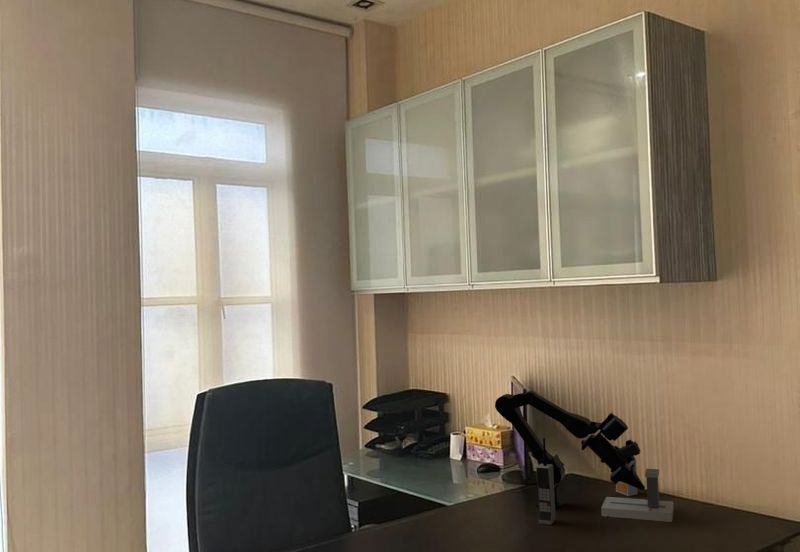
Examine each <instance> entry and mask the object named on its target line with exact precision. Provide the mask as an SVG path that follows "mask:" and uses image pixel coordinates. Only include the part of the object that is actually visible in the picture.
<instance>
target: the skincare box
mask: <svg viewBox="0 0 800 552" xmlns="http://www.w3.org/2000/svg"><path fill="white" fill-rule="evenodd" d="M634 463H635V472H636V474H637V458H635V459H634V460H632V461H631V462H630V463H629V464H628V465H630V466H631V465H632V464H634ZM637 475H638V474H637ZM615 492H616V493H620V494H621V495H624V496H627V497H631V496H636V495H638V488H636V487H633V486H631V485H628V484H626V483H623V482H618V483H617V484H616V485H615Z"/></svg>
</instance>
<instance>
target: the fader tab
mask: <svg viewBox="0 0 800 552" xmlns="http://www.w3.org/2000/svg"><path fill="white" fill-rule="evenodd" d="M644 472H645V473H644V477H645V478H646V493H647V494H646V496H647V499H646V500H648V507H655V508H659V501H660V490H659V489H660V488H659V487H660V486H659V475H660V470H659V468H646V469H645V471H644Z"/></svg>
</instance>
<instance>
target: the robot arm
mask: <svg viewBox="0 0 800 552" xmlns="http://www.w3.org/2000/svg"><path fill="white" fill-rule="evenodd" d="M494 403H495V404H494V407H495V411H496V412H498V414H500V416H501V417H502V418H504V419H505V420H506V421H507V422H509V424H511V425H512V427H513V428H514V429H515V430H516V432H517V434H518V436H519V437H520V438H521V440H522V441H523V442H524V444H525V446H527V448H528V449H529V450H530V452H531V454H532V455H533V456H534V458H535V459H536V461H537V462H536V463H537V466H539V465H540V464H543V463H544V459H543V453H544V450H543V442H542V441H541V440H540V439H539V438H538V435H537V434H536V433H535V432H534V430H533V429H532V428H531V425H530V424H529V423H528V422H527V420H526V419H525V417H524V416H523V413H522V410H521V407H524V406H528V405H529V406H531V407H532V408H535V409H536V410H538V411H540V412H541V413H543V414H544V415H546V416H548V417H550V418H552V419H553V420H555V421H556V422H558V423H559V424H561V426H563V427H564V429H566V431H567V432H569V433H570V434H571V435H573V436H574V437H575V438H576V439H580V440H581V439H582V440H581V441H580V444H581V451H585V449H587V447H588V448H589V449H590V450H591V451H592V453H594V455H596V456H597V458H599V459H600V460H599V461H600V462H601V464H605V465H606V466H607V468H609V469H610V472H611V473H610V475H609V476H610V481H611V482H612V484H613V485H615V486H616V484H617V483H618V482H623V483H626V484H628V485H631V486H633V487H636V488H637V490H638V489H639V490H640V491H644V490H645V489H646V487H645V485H644V484H643V482H642V480H641V478H640V477H639V475H638V474H636V472H637V471H636V472H635V463H634V464H632V465H631V466H630V465H628V464H629V463H630V462H631V461H632V460H634V459H636V457H635V456H638V455H640V454H641V452H642V451H641V449H640V446H639V443H637V441H633V440H632V439H628V440H626V441H625V445H623V446H621V447H618V445H613V444H612V443H611V442H610V441H617V440H618V439H619V438H620V437H621V436H622V435H623V434H624V433H625V432H627V430H629V427H628V425H627V423H625V421H623V419H622V418H619V417H618V416H617V415H615V414H614V413H613V412H610V413H609V414H608V415H607V417H605V419H604V420H603V421H602V422H597V421H593V420H590V419H589V418H588V417H585V416H583V415H580V414H576V413H572V412H570V411H567V410H565V409H563V408H562V407H560V406H558V405H557V404H555V403H553V402H551V401H550V400H548V399H547V398H545V397H543V396H541V395H540V394H538V393H537V392H536V391H533V390H529V391H527V392H522V393H521V392H520V393H517V394H511V393H504V394H503V395H501V396H500V397H498V398H496V401H495V402H494ZM598 431H599V432H598ZM597 432H598V433H597ZM596 433H597V434H596ZM594 434H595V435H594ZM589 435H590V436H589ZM585 438H586V439H585ZM546 463H547V464H551V465H553V475H554V497H555V509H557V508H559V507H561V506H563V505H564V503H563V502H560V491H559V490H560V489H559V483H560V482H561V481H562V480H563V479H564V477H565V474H566V469H565V467H564V466H565V463H564V462H562V461H561V459H560V457H559V456H558V454H554V456H553V455H552V454H551V453H550V452H548V450H547V449H546ZM536 485H537V487H538V484H537V483H536ZM535 507H538V508H539V502H538V503H536V504H535Z"/></svg>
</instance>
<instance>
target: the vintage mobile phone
mask: <svg viewBox="0 0 800 552" xmlns="http://www.w3.org/2000/svg"><path fill="white" fill-rule="evenodd" d="M542 444H543V450H544V453H543V459H544V463H543V464H540V465H537V466H536V468H535V469H536V485H537V484H538V486H537V490H538V494H537V495H538V503H539V507H538V523H539V524H540V525H548V526H550V525H552V524H553V523H554V522H555V521H556V508H555V497H554V475H553V465H551V464H547V463H546V450H547V449H546V438H545V437H543V438H542Z"/></svg>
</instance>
